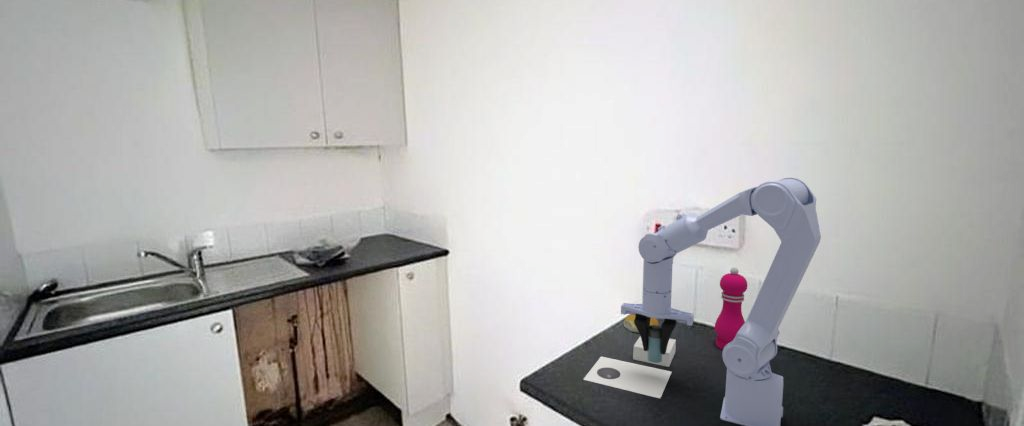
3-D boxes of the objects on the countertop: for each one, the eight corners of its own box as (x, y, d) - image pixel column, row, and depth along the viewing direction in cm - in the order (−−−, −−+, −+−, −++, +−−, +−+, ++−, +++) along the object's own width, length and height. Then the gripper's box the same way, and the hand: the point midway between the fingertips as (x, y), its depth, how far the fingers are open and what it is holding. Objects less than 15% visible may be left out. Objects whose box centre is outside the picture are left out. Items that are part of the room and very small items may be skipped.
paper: (671, 373, 104) (671, 371, 104) (660, 399, 93) (660, 398, 93) (601, 357, 111) (601, 356, 111) (583, 380, 101) (583, 379, 101)
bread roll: (664, 330, 127) (665, 316, 126) (636, 336, 123) (637, 321, 123) (645, 319, 134) (645, 306, 133) (618, 324, 131) (618, 311, 130)
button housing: (675, 353, 113) (675, 339, 112) (668, 368, 106) (669, 353, 105) (641, 346, 117) (641, 333, 116) (633, 360, 110) (633, 346, 109)
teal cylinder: (663, 357, 101) (664, 326, 100) (660, 363, 99) (661, 332, 98) (648, 354, 103) (649, 324, 102) (645, 360, 100) (646, 329, 99)
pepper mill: (751, 353, 113) (757, 271, 109) (720, 353, 113) (725, 271, 109) (737, 340, 120) (742, 263, 116) (708, 340, 120) (713, 263, 117)
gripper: (696, 288, 98) (694, 350, 101) (627, 279, 105) (626, 337, 107) (691, 298, 92) (688, 364, 94) (618, 288, 99) (617, 349, 101)
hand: (655, 350), depth 101 cm, fingers closed on teal cylinder, 3 cm apart
